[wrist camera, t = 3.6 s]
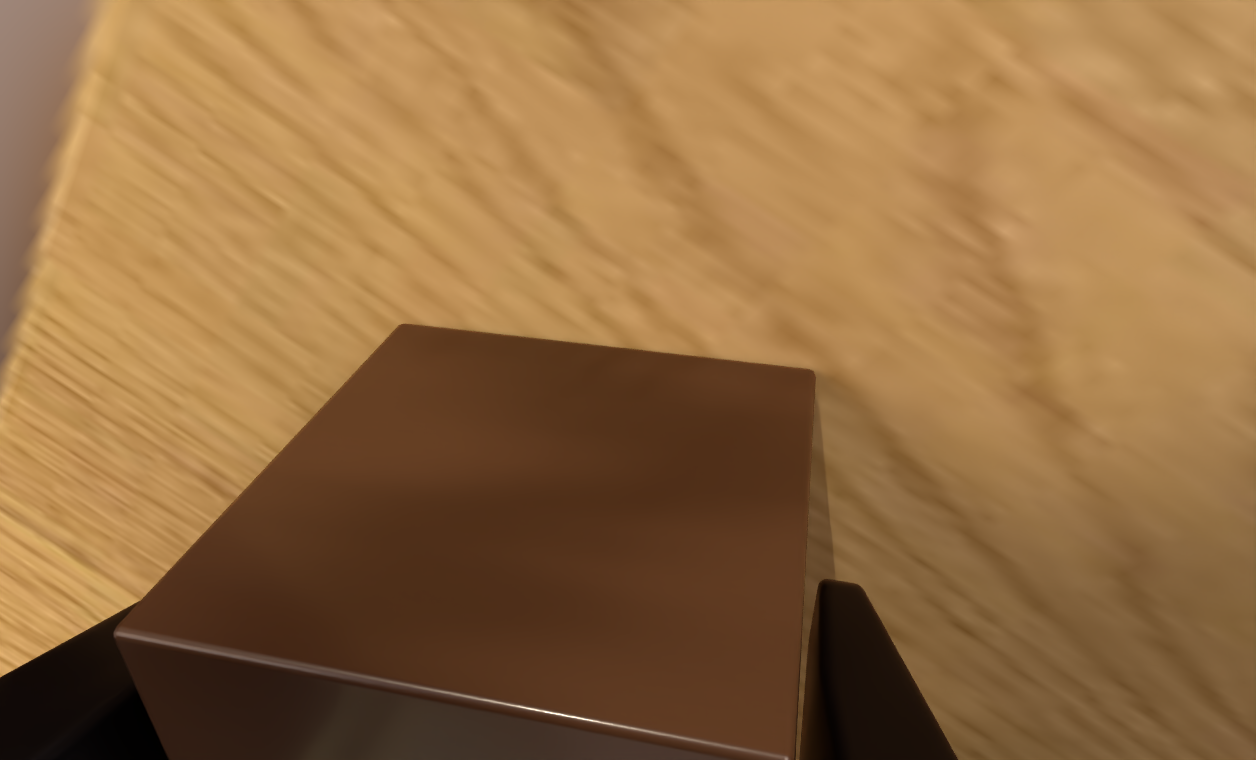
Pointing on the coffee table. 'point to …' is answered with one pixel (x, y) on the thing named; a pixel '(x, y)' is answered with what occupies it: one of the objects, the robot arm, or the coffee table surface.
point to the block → (500, 566)
